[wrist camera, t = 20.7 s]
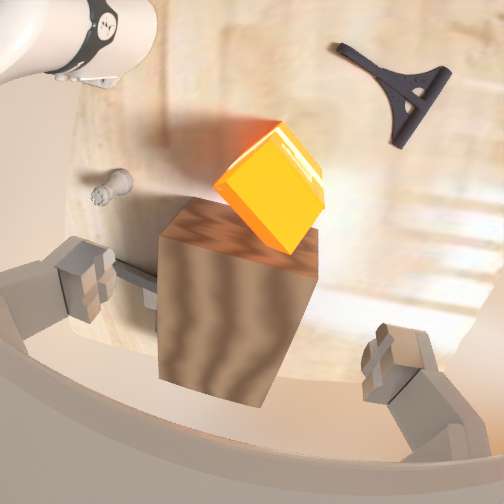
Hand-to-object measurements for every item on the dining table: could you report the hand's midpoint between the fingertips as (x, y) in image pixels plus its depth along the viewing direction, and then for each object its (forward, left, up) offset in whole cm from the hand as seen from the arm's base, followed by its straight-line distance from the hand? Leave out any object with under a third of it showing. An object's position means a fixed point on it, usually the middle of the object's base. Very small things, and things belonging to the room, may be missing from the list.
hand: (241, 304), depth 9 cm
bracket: (+10, +10, -38) cm, 41 cm away
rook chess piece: (-26, -15, -37) cm, 48 cm away
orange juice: (-1, -6, -37) cm, 38 cm away
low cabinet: (-3, -31, -37) cm, 48 cm away
